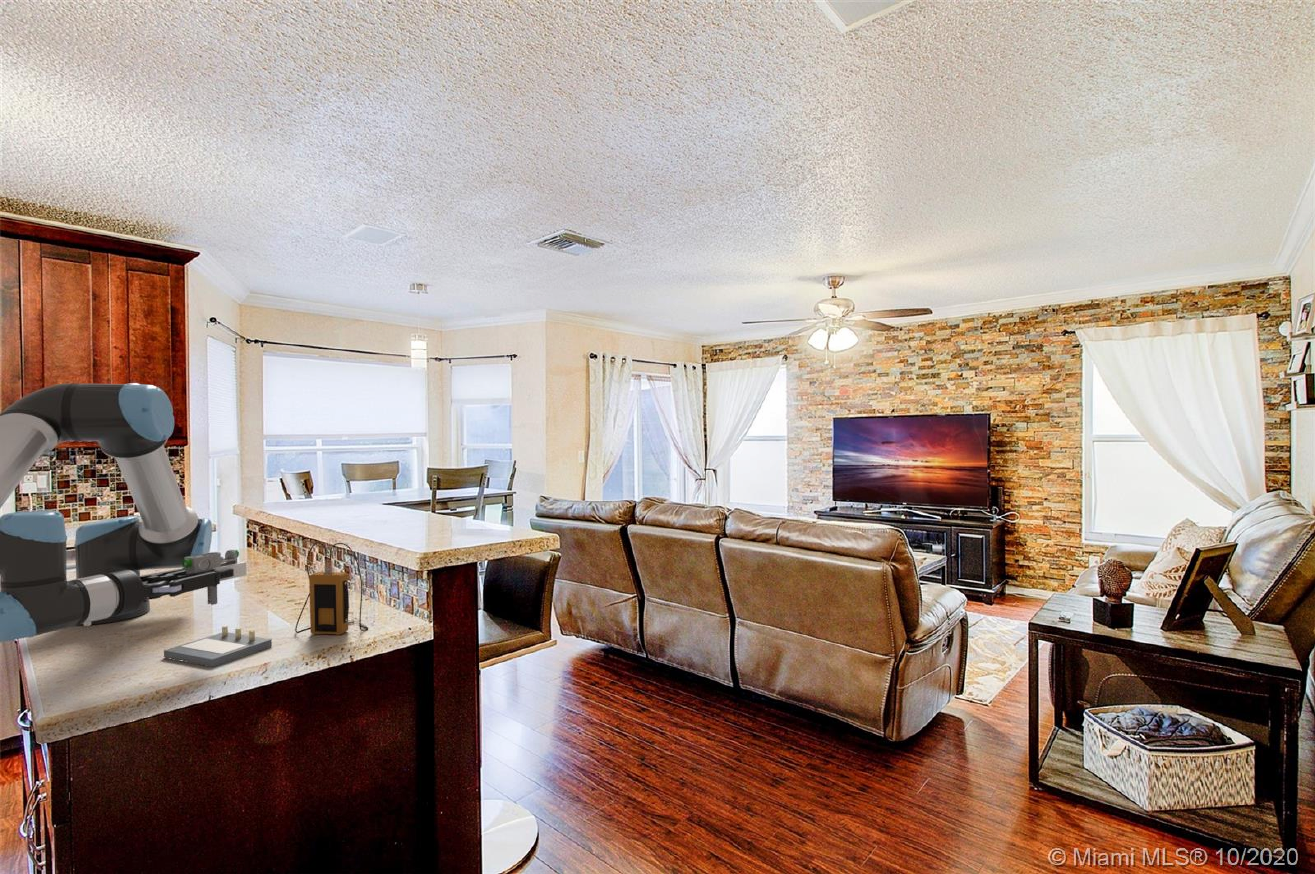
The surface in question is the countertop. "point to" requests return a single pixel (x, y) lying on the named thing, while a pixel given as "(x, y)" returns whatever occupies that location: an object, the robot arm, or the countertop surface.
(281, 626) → the countertop surface
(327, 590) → the multimeter
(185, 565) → the mechanical component
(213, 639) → the board
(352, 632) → the countertop surface
